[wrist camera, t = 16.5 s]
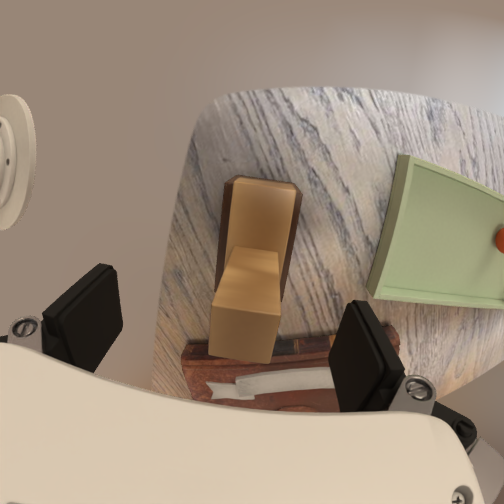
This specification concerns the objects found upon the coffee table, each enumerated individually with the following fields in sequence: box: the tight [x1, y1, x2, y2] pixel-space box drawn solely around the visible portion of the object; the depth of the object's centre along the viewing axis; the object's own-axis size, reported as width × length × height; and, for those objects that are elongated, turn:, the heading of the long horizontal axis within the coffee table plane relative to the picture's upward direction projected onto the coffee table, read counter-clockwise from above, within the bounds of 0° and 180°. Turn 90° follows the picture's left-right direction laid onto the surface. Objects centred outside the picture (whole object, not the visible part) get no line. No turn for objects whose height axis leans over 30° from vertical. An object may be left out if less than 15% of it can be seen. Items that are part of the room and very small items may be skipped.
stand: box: [214, 175, 303, 302], centre depth 21 cm, size 5×8×6 cm, turn 172°
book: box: [181, 325, 400, 413], centre depth 28 cm, size 23×16×5 cm
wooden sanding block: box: [208, 177, 296, 364], centre depth 14 cm, size 3×9×10 cm, turn 173°
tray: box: [366, 155, 504, 309], centre depth 22 cm, size 27×13×2 cm, turn 82°
